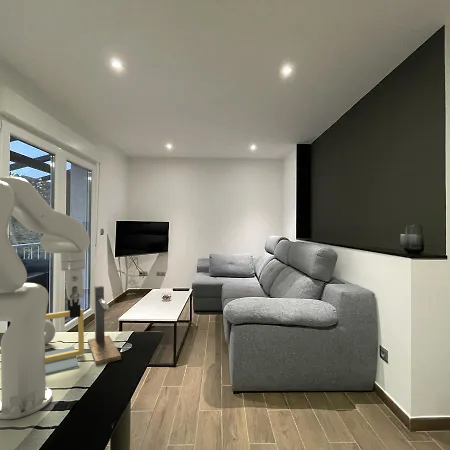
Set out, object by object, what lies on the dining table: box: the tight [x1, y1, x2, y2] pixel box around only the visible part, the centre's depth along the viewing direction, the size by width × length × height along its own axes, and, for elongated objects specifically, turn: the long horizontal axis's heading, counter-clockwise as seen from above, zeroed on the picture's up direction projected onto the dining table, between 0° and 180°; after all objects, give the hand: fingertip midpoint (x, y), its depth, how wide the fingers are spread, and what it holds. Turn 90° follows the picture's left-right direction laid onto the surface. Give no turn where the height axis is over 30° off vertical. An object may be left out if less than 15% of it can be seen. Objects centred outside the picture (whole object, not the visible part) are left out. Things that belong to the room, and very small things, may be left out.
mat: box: [45, 346, 79, 376], centre depth 102 cm, size 18×12×1 cm, turn 31°
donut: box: [45, 319, 56, 345], centre depth 117 cm, size 10×3×10 cm, turn 76°
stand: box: [87, 285, 122, 366], centre depth 109 cm, size 22×8×22 cm, turn 31°
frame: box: [45, 308, 85, 363], centre depth 102 cm, size 2×14×16 cm, turn 122°
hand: (74, 313), depth 104 cm, fingers open, 9 cm apart
